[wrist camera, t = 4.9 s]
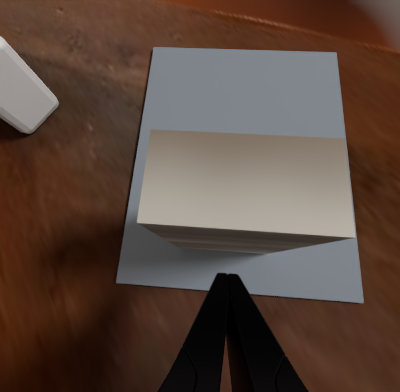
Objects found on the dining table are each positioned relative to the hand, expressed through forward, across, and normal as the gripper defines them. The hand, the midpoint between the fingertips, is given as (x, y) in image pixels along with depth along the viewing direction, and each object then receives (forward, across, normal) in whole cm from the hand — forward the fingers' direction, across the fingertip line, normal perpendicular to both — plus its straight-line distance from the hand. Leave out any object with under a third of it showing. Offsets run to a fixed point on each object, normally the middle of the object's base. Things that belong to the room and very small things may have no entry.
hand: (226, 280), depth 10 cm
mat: (+11, -1, -2) cm, 11 cm away
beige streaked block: (+7, 0, +2) cm, 7 cm away
